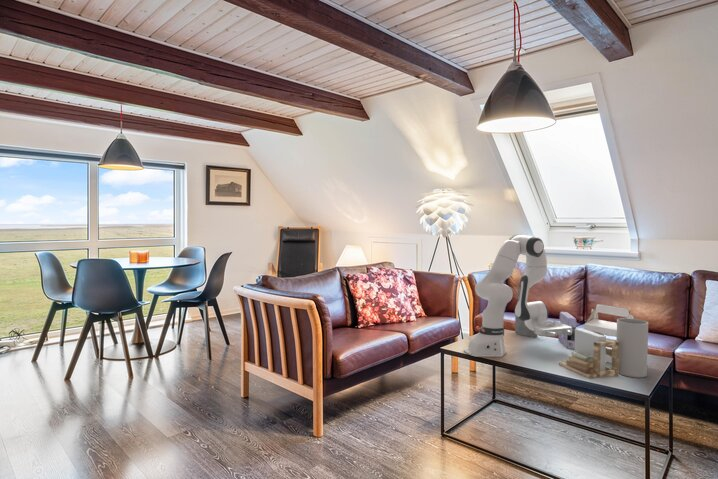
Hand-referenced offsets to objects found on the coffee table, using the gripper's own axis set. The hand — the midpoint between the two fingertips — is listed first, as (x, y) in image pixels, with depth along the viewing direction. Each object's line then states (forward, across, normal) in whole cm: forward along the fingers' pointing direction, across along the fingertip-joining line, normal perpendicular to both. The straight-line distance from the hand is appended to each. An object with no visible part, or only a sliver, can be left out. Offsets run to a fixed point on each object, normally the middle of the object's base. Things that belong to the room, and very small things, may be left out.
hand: (562, 334), depth 234 cm
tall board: (+20, -1, +12) cm, 23 cm away
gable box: (+9, +22, +13) cm, 27 cm away
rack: (+21, -2, +12) cm, 24 cm away
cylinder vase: (+30, +14, +12) cm, 35 cm away
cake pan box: (-20, +18, +13) cm, 30 cm away
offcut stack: (+23, -8, +10) cm, 27 cm away
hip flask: (-46, +8, +12) cm, 48 cm away
